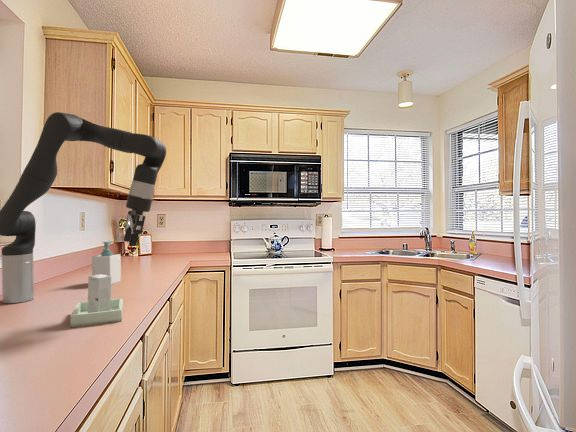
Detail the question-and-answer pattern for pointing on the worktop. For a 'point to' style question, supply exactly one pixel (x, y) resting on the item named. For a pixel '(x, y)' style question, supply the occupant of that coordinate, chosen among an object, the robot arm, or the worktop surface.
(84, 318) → the tray
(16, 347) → the worktop surface
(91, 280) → the skincare box
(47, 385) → the worktop surface
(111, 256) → the soap bottle
